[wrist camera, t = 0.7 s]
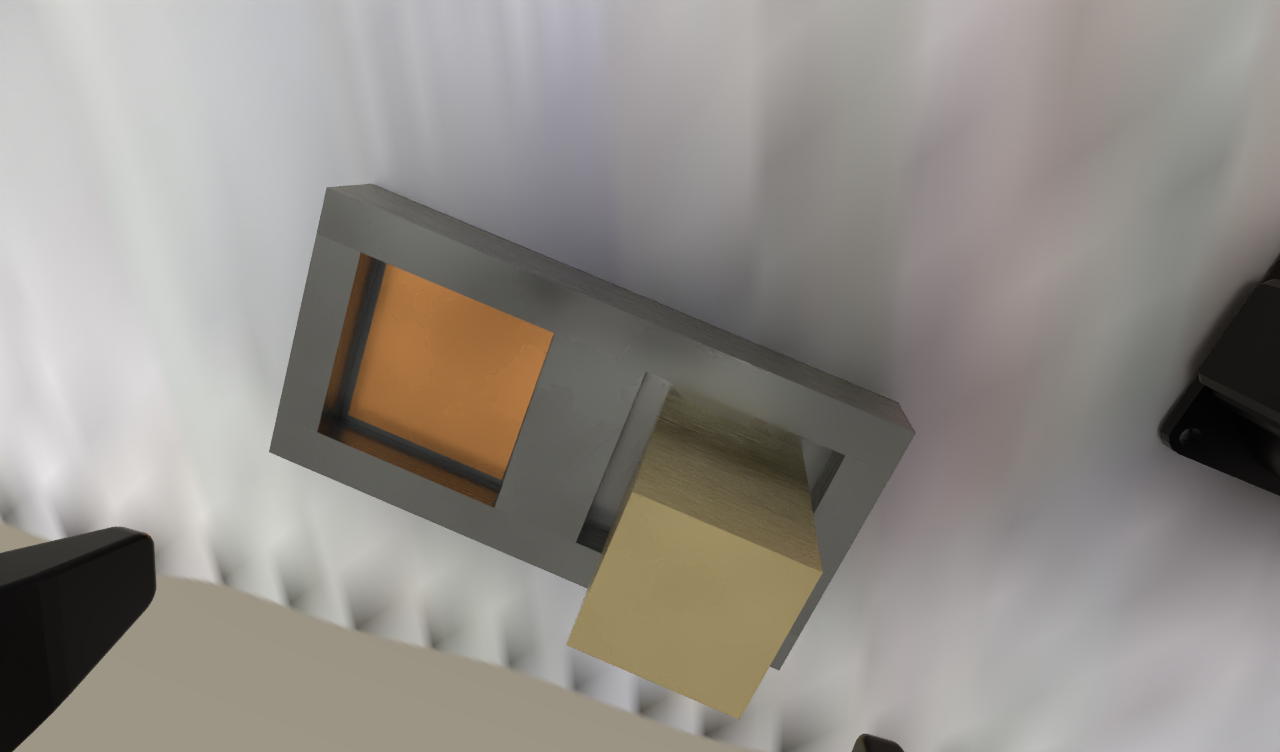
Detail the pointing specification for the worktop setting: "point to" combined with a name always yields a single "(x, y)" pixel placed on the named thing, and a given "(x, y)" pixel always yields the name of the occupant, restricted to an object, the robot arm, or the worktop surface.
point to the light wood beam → (703, 560)
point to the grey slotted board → (536, 390)
